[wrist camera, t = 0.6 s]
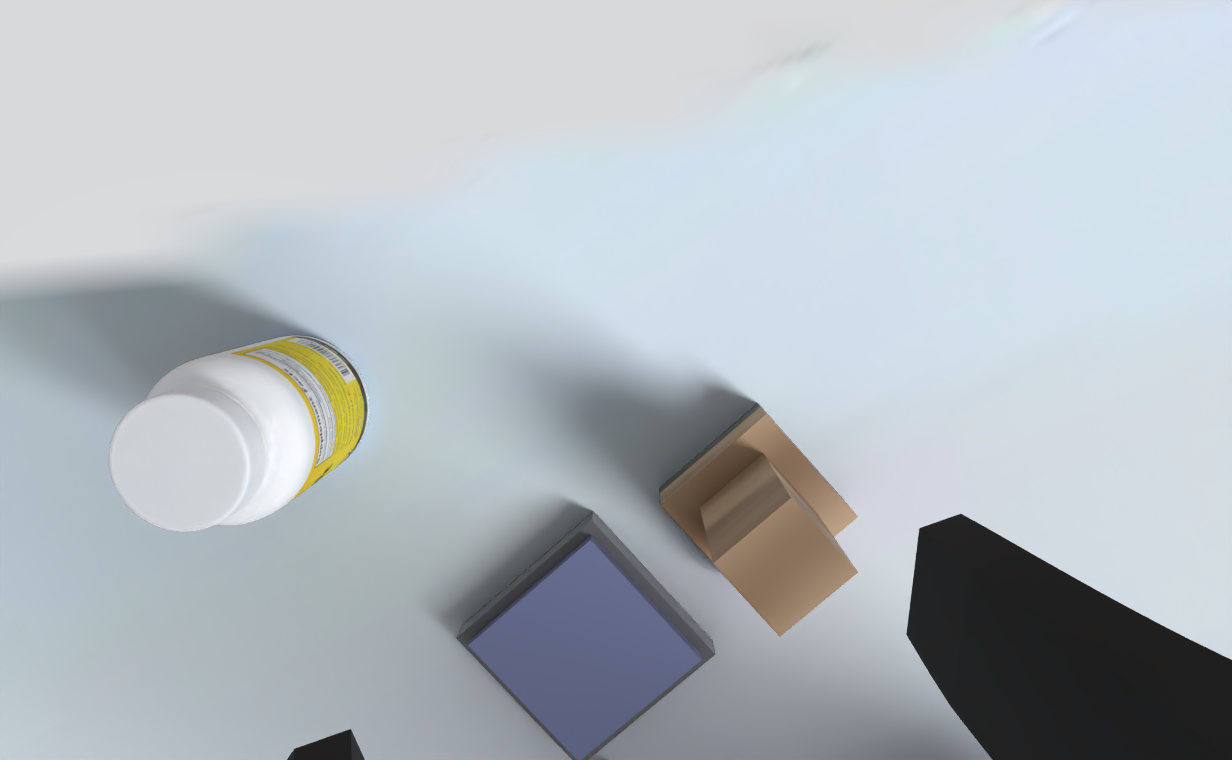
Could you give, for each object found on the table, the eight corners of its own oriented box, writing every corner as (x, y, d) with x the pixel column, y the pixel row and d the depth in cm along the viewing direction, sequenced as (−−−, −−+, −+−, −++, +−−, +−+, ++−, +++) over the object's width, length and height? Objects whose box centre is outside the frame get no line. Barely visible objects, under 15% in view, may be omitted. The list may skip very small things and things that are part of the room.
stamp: (843, 498, 35) (906, 575, 27) (744, 581, 36) (775, 681, 27) (757, 402, 35) (795, 450, 26) (659, 488, 35) (664, 560, 27)
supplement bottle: (245, 478, 35) (96, 563, 26) (225, 340, 35) (64, 373, 25) (382, 467, 35) (285, 548, 26) (365, 328, 34) (257, 357, 25)
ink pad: (712, 640, 36) (716, 661, 34) (581, 750, 37) (578, 775, 35) (593, 511, 35) (591, 525, 33) (462, 625, 36) (453, 644, 34)
